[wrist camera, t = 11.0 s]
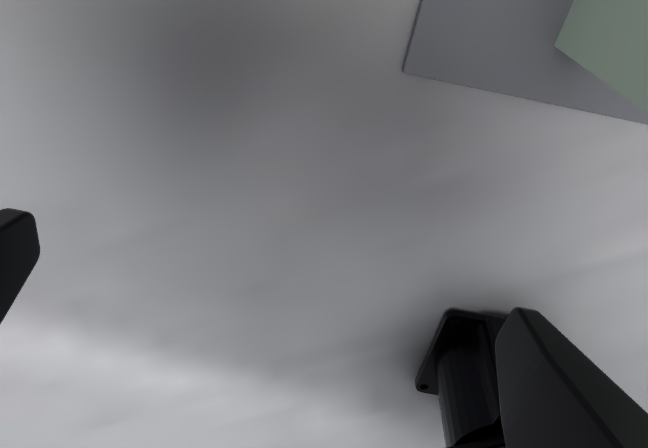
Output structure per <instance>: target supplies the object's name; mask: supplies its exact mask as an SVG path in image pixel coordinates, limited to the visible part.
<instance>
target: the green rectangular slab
mask: <svg viewBox="0 0 648 448" xmlns="http://www.w3.org/2000/svg"><path fill="white" fill-rule="evenodd" d="M554 46H555V47H556V48H558V49H559V50H560V51H562V52H563V53H565V54H566V55H567V56H569V57H570V58H571V59H573V60H574V61H576V62H577V63H578V64H580V65H581V66H583V67H584V68H585V69H587V70H588V71H590V72H591V73H592V74H594V75H595V76H596V77H598V78H599V79H601V80H602V81H603V82H605V83H606V84H608V85H609V86H610V87H612V88H613V89H615V90H616V91H617V92H619V93H620V94H622V95H623V96H624V97H626V98H627V99H628V100H630V101H631V102H633V103H634V104H635V105H637V106H638V107H640V108H641V109H642V110H644V111H645V112H647V113H648V0H574V1H573V3H572V6H571V8H570V10H569V13H568V15H567V17H566V19H565V22H564V24H563V26H562V29H561V31H560V33H559V36H558V38H557V40H556V42H555V45H554Z"/></svg>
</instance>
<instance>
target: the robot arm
mask: <svg viewBox="0 0 648 448" xmlns="http://www.w3.org/2000/svg"><path fill="white" fill-rule="evenodd" d="M39 255H40V245H39V239H38V233H37V228H36V222H35V218H34V216H33V215H32V214H31V213H29V212H27V211H22V210H16V209H11V208H6V209H2V210H0V324H1V322H2V321H3V319H4V317H5V316H6V314H7V312H8V311H9V309H10V307H11V306H12V304H13V302H14V300H15V299H16V297H17V295H18V294H19V292H20V290H21V288H22V287H23V285H24V283H25V282H26V280H27V278H28V276H29V275H30V273H31V271H32V270H33V268H34V266H35V264H36V263H37V261H38V258H39ZM452 319H457V320H452ZM415 385H416V389H417V390H418V391H420V392H424V393H429V394H435V395H439V402H440V409H441V416H442V422H443V429H444V436H445V443H446V448H648V413H647V412H645V411H644V410H643V409H642V408H641V407H640V406H639V405H638V404H637V403H636V402H635V401H634V400H633V399H632V398H630V397H629V396H628V395H627V394H626V393H625V392H624V391H623V390H622V389H621V388H620V387H619V386H618V385H616V384H615V383H614V382H613V381H612V380H611V379H610V378H609V377H608V376H607V375H606V374H605V373H604V372H603V371H601V370H600V369H599V368H598V367H597V366H596V365H595V364H594V363H593V362H592V361H591V360H590V359H589V358H588V357H586V356H585V355H584V354H583V353H582V352H581V351H580V350H579V349H578V348H577V347H576V346H575V345H574V344H573V343H571V342H570V341H569V340H568V339H567V338H566V337H565V336H564V335H563V334H562V333H561V332H560V331H559V330H558V329H556V328H555V327H554V326H553V325H552V324H551V323H550V322H549V321H548V320H547V319H546V318H545V317H544V316H543V315H541V314H540V313H539V312H538V311H536V310H532V309H527V308H521V307H516V308H514V309H513V310H512V311H511V312H510V314H509V316H508V317H507V319H506V320H503V319H498V318H493V317H487V316H482V315H477V314H472V313H467V312H461V311H456V310H452V311H449V312H447V313H446V314H445V315H444V318H443V320H442V322H441V324H440V326H439V329H438V331H437V333H436V335H435V338H434V340H433V342H432V344H431V347H430V349H429V351H428V353H427V356H426V358H425V360H424V362H423V364H422V367H421V369H420V371H419V373H418V376H417V378H416V380H415Z"/></svg>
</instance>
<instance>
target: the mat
mask: <svg viewBox="0 0 648 448" xmlns="http://www.w3.org/2000/svg"><path fill="white" fill-rule="evenodd" d="M573 1H574V0H421V4H420V7H419V11H418V15H417V18H416V22H415V26H414V29H413V33H412V37H411V40H410V44H409V48H408V51H407V55H406V59H405V62H404V66H403V73H406V74H411V75H416V76H421V77H425V78H430V79H435V80H440V81H444V82H449V83H454V84H459V85H463V86H468V87H473V88H477V89H482V90H487V91H492V92H496V93H501V94H506V95H511V96H515V97H520V98H525V99H530V100H534V101H539V102H544V103H549V104H553V105H558V106H563V107H568V108H572V109H577V110H582V111H587V112H591V113H596V114H601V115H605V116H610V117H615V118H620V119H624V120H629V121H634V122H639V123H643V124H648V113H647V112H645V111H644V110H642V109H641V108H640V107H638V106H637V105H635V104H634V103H633V102H631V101H630V100H628V99H627V98H626V97H624V96H623V95H622V94H620V93H619V92H617V91H616V90H615V89H613V88H612V87H610V86H609V85H608V84H606V83H605V82H603V81H602V80H601V79H599V78H598V77H596V76H595V75H594V74H592V73H591V72H590V71H588V70H587V69H585V68H584V67H583V66H581V65H580V64H578V63H577V62H576V61H574V60H573V59H571V58H570V57H569V56H567V55H566V54H565V53H563V52H562V51H560V50H559V49H558V48H556V47H555V46H554V45H555V42H556V40H557V38H558V36H559V33H560V31H561V29H562V26H563V24H564V22H565V19H566V17H567V15H568V13H569V10H570V8H571V6H572V3H573Z"/></svg>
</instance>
